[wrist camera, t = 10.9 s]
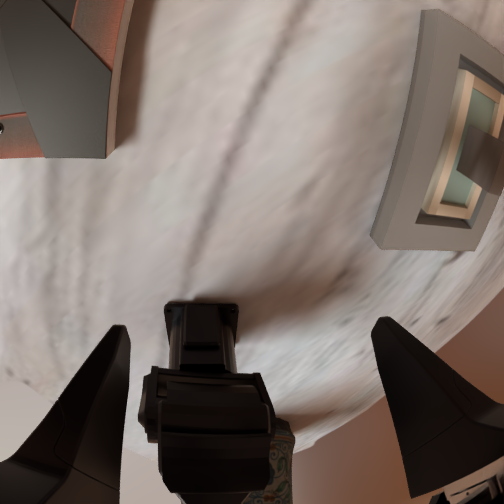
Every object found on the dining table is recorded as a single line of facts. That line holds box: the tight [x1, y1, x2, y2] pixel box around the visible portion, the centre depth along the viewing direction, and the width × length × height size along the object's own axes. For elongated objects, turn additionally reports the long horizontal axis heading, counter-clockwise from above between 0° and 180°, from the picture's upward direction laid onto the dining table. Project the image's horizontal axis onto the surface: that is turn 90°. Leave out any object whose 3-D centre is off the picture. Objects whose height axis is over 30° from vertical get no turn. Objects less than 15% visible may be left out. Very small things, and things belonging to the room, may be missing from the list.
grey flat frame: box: [370, 9, 504, 251], centre depth 18 cm, size 19×13×2 cm
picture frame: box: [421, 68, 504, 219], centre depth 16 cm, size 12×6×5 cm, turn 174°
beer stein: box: [243, 418, 295, 504], centre depth 36 cm, size 16×19×25 cm
